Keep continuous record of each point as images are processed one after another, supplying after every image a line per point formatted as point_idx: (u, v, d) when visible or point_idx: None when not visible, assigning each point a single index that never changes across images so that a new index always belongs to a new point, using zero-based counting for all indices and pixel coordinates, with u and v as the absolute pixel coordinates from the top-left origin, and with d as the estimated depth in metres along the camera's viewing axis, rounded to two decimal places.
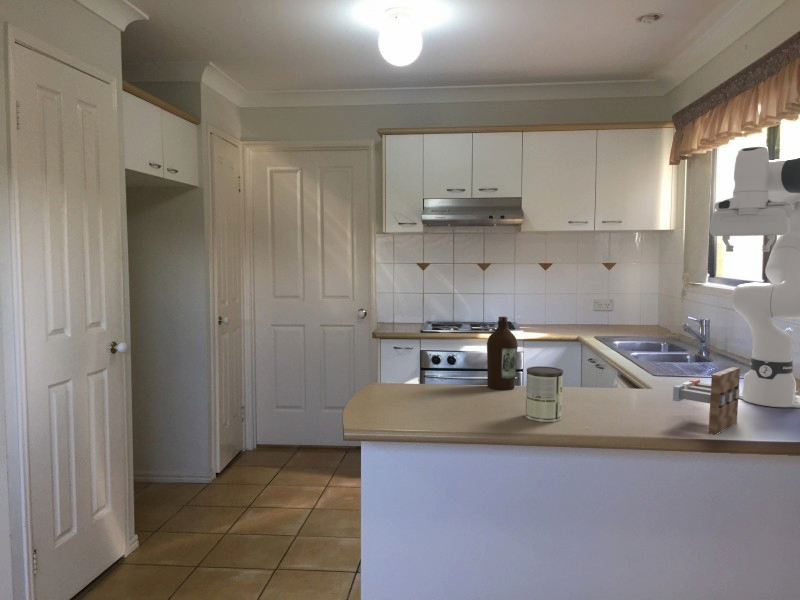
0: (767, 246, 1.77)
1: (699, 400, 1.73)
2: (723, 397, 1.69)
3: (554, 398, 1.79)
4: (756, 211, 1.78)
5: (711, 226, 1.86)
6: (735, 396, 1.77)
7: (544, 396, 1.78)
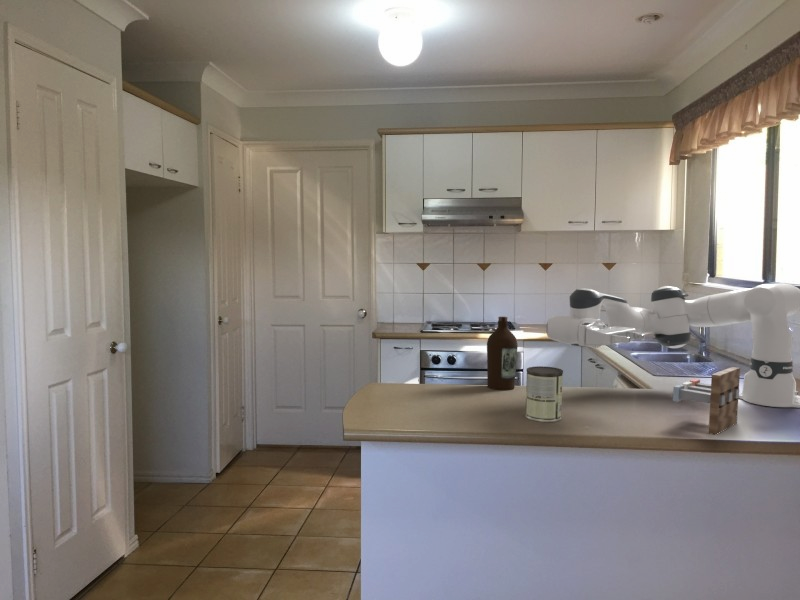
0: None
1: (699, 400, 1.73)
2: (723, 397, 1.69)
3: (554, 398, 1.79)
4: None
5: (598, 331, 1.85)
6: (735, 396, 1.77)
7: (544, 396, 1.78)
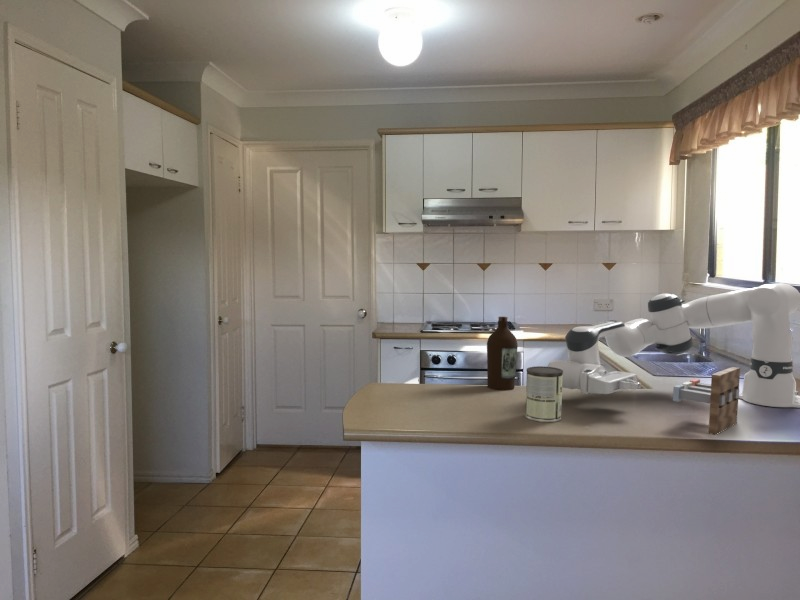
0: (635, 382, 1.88)
1: (699, 400, 1.73)
2: (723, 397, 1.69)
3: (554, 398, 1.79)
4: None
5: (600, 379, 1.84)
6: (735, 396, 1.77)
7: (544, 396, 1.78)
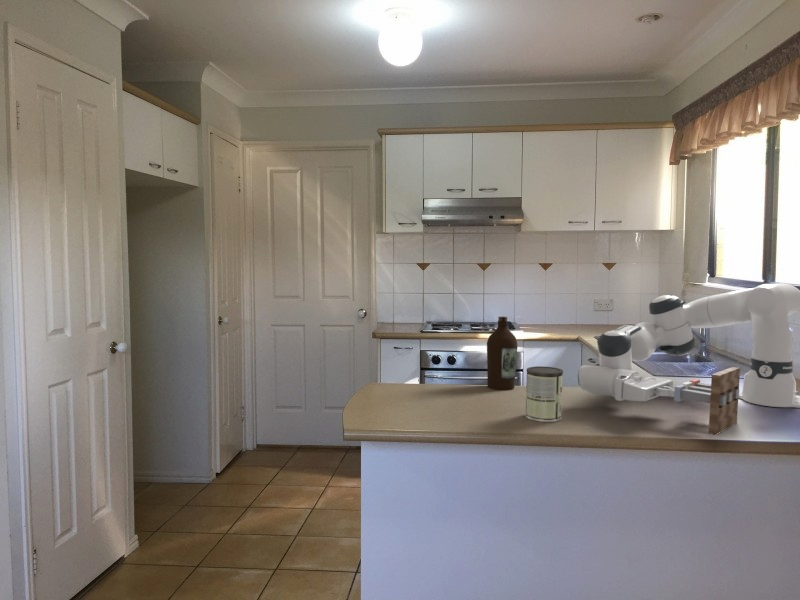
0: None
1: (700, 400, 1.73)
2: (724, 397, 1.69)
3: (554, 398, 1.79)
4: None
5: (637, 386, 1.76)
6: (735, 396, 1.77)
7: (544, 396, 1.78)
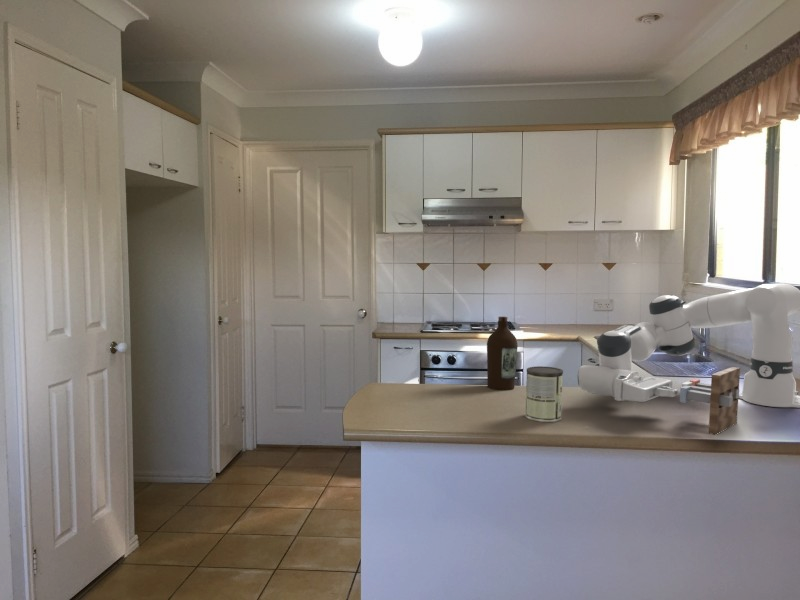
0: (672, 389, 1.80)
1: (706, 401, 1.71)
2: (731, 398, 1.68)
3: (554, 398, 1.79)
4: None
5: (636, 386, 1.76)
6: (735, 396, 1.77)
7: (544, 396, 1.78)
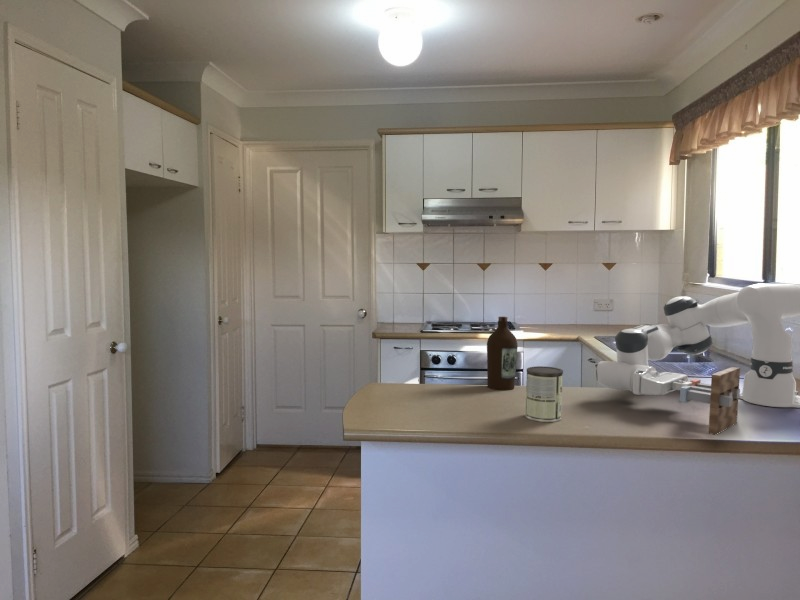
0: None
1: (706, 401, 1.71)
2: (731, 398, 1.68)
3: (554, 398, 1.79)
4: None
5: (654, 380, 1.85)
6: (736, 396, 1.77)
7: (544, 396, 1.78)
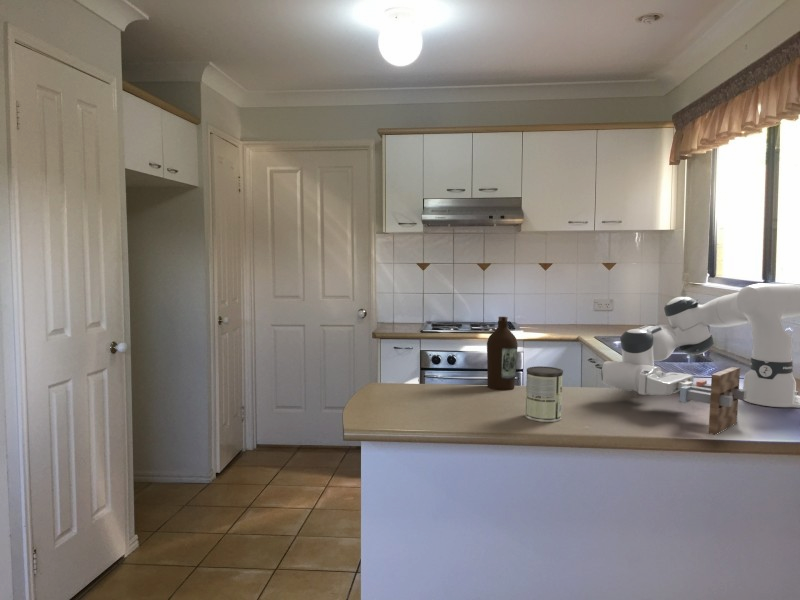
0: None
1: (706, 401, 1.71)
2: (731, 398, 1.68)
3: (554, 398, 1.79)
4: None
5: (660, 381, 1.84)
6: (742, 397, 1.76)
7: (544, 396, 1.78)
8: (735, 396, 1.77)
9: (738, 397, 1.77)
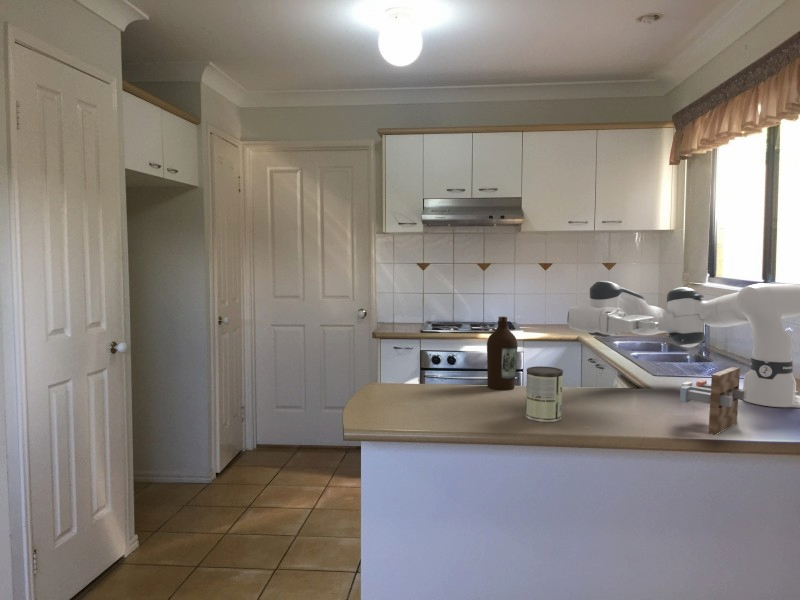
0: None
1: (706, 401, 1.71)
2: (731, 398, 1.68)
3: (554, 398, 1.79)
4: None
5: (620, 318, 1.91)
6: (742, 397, 1.76)
7: (544, 396, 1.78)
8: (735, 396, 1.77)
9: (738, 397, 1.77)
